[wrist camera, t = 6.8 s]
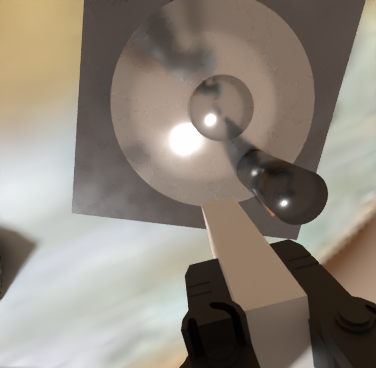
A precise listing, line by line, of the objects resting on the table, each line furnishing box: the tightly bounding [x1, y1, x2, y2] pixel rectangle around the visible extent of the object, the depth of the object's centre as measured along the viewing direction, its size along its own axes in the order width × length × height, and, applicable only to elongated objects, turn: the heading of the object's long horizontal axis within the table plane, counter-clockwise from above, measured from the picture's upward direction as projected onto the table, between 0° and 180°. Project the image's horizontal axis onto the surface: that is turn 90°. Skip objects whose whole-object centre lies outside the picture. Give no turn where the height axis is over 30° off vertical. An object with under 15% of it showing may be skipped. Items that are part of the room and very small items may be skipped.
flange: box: [110, 0, 328, 225], centre depth 18 cm, size 18×16×9 cm
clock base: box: [72, 0, 365, 240], centre depth 21 cm, size 22×22×7 cm
